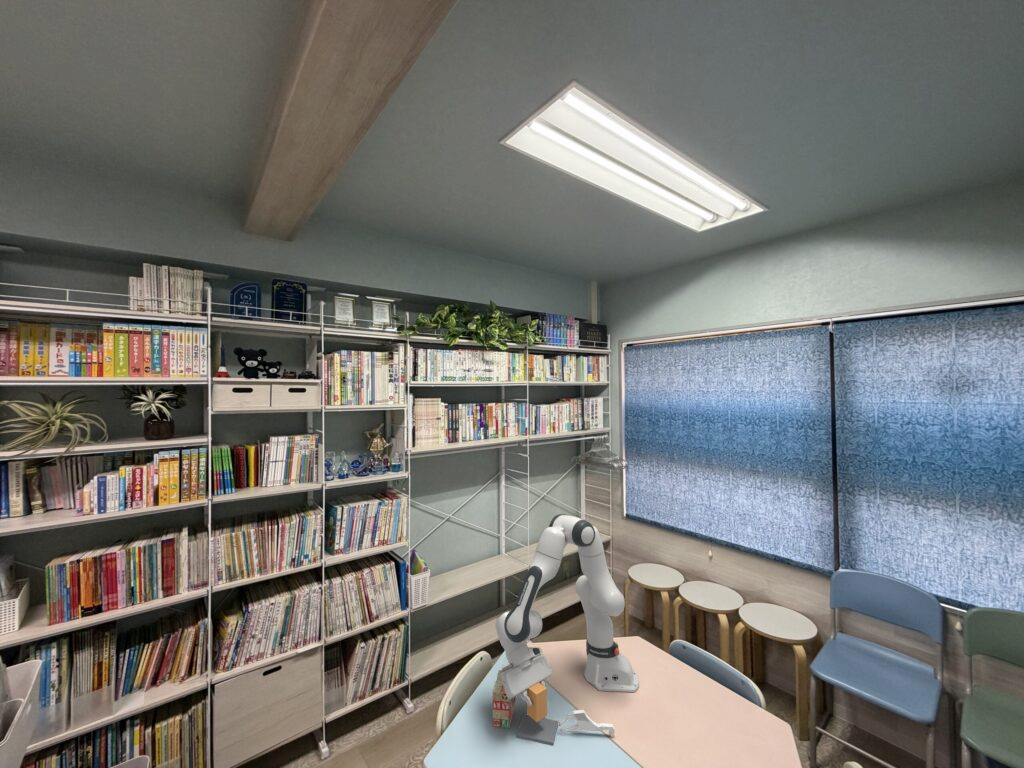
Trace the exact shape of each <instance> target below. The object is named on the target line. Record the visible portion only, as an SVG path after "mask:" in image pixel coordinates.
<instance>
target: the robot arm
mask: <svg viewBox="0 0 1024 768" xmlns="http://www.w3.org/2000/svg"><path fill="white" fill-rule="evenodd" d="M568 544H570V545H574V546H577V551H578V556H579V557H578V558H579V561H580V568H581V571H582V573H583V575H581V576H579V577H578V578H577V580H576V582H575V588H574V589H575V592H576V594H577V596H578V598H579V600H580V602H581V605H582V609H583V611H584V617H585V622H586V641H585V652H586V664H585V667H584V668H585V669H584V671H583V675H584V678H585V680H586V681H587V682H588V683H590V684H591V685H593V686H594V687H595V689H597V690H598V691H601V692H603V691H604V692H622V693H624V692H625V693H636V692H637V691H638V688H639V685H640V681H639V675H638V673H637V672H636V670H635V669H633V667H632V663H631V661H630V660H629V659H628V657H626V656H625V655H623V653H621V652H620V650H619V649H620V648H619V645H618V644H619V643H618V642H616V641H614V624H613V621H612V619H611V617H618V616H620V615H621V614H622V613H623V611H624V609H625V605H626V603H625V600H626V599H625V597H624V595H623V593H622V592H621V591H620V589H619V588H618V587H617V585H616V583H615V581H614V579H613V578H612V575H611V573H610V570H609V567H608V564H607V560H606V558H607V557H606V554H605V549H604V548H605V547H604V544H603V541H602V537H601V535H600V532H599V530H598V528H597V527H596V526H594V525H593V524H592V523H591V522H589V521H588V520H586V519H582V518H580V517H577V516H574V515H568V514H564V513H562V514H561V513H560V514H555V515H554V516H553V517H552V519H551V521H550V522H549V525H548V527H546V528H545V529H544V530H543V531H542V533H541V535H540V537H539V540H538V542H537V545H536V548H535V550H534V554H533V557H532V560H531V563H530V566H529V568H528V570H527V573H526V574H525V576H524V580H523V582H522V584H521V587H520V589H519V592H518V594H517V598H516V599H515V602H514V604H513V606H512V608H511V610H507V611H505V612H503V613H502V614H501V615H499V616H498V617H497V619H496V621H495V631H496V634H497V636H498V640H499V642H500V644H501V645H500V646H502V648H503V649H504V653H505V656H506V660H507V662H508V664H507V665H508V666H506V667H504V668H502V667H501V669H502V670H501V669H500V670H501V672H500V676H501V679H502V681H503V685H504V689H505V692H506V695H507V697H508V698H509V699H512V698H514V697H515V696H516V697H517V696H519V695H520V697H521V698H522V699H523V700H524V701H525V702H526V705H527V704H528V706H529V707H530V706H531V705H533V704H534V702H533V700H532V698H531V699H530V698H529V697H528V696H527V689H528V688H530V687H531V686H533V685H535V684H537V683H538V682H539V683H540V684H542V685H543V686H544V687H546V683H545V680H547V679H549V678H550V677H552V675H553V669H552V666H551V665H550V663H549V660H548V659H547V657H546V656H545V655H544V654H542V653H543V650H542V648H541V647H540V646H537V647H534V646H533V647H531V646H528V644H527V641H528V640H531V639H534V638H536V637H537V636H539V635H540V634H541V632H542V630H543V619H542V616H541V614H540V613H539V612H538V611H536V610H532V608H533V605H534V603H535V600H536V597H537V594H538V592H539V590H540V588H541V587H542V586H544V584H546V583H547V582H548V581H551V580H552V579H554V578H555V577H556V575H557V573H558V571H559V569H560V567H561V563H562V560H563V555H564V551H565V548H566V546H567V545H568ZM610 616H611V617H610Z"/></svg>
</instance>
